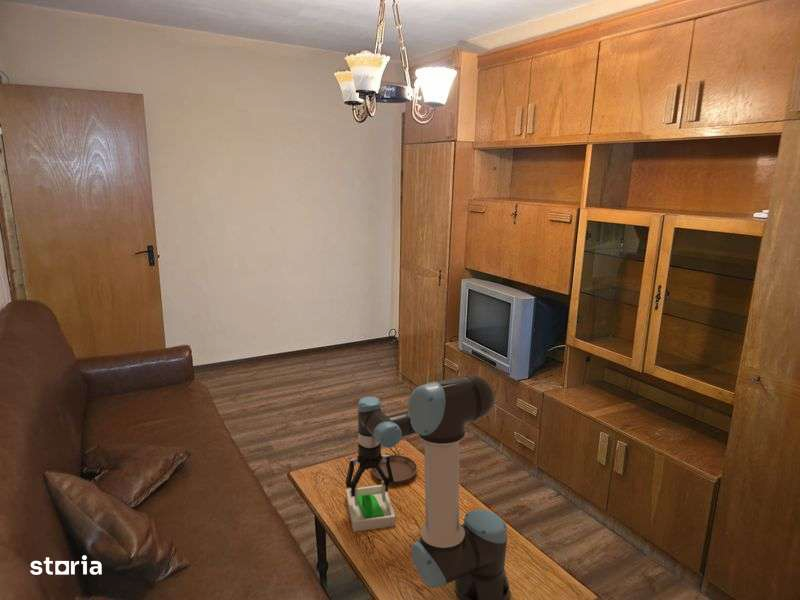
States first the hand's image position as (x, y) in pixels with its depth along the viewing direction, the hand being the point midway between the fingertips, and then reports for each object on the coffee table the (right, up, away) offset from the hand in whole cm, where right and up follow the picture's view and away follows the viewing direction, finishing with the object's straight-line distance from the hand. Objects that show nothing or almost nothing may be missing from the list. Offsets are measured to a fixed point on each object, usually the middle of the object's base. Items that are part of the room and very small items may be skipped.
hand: (369, 501), depth 177 cm
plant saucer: (+8, +1, +23) cm, 24 cm away
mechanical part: (0, -3, 0) cm, 3 cm away
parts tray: (0, -4, +1) cm, 4 cm away
